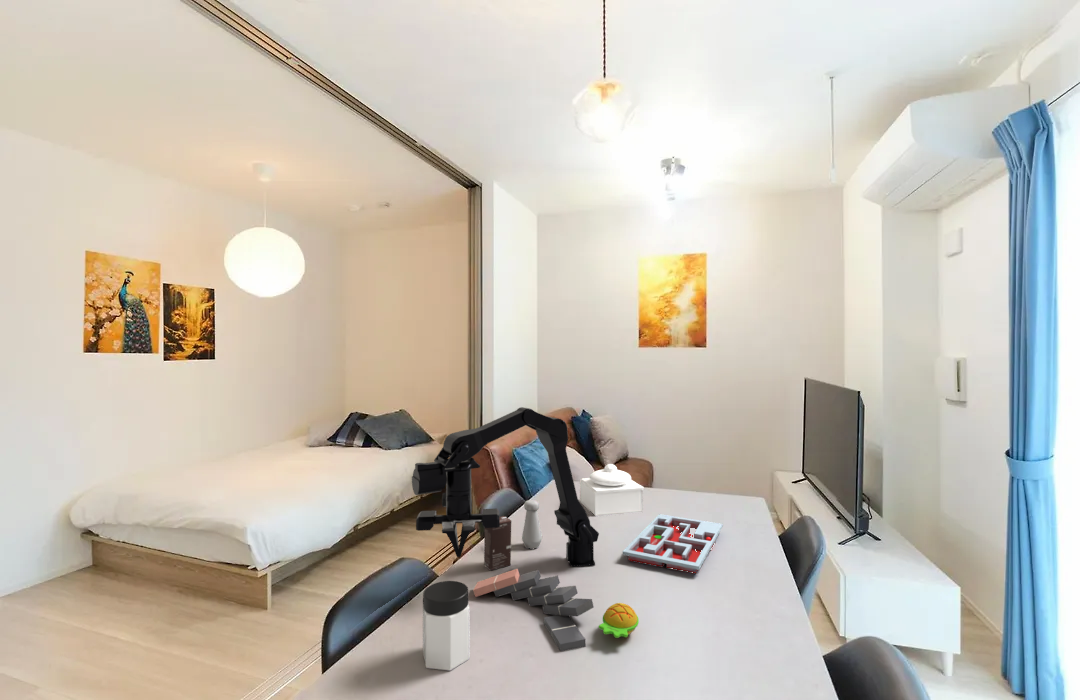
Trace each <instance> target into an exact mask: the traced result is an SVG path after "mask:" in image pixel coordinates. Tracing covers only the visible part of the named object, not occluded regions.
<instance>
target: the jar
mask: <svg viewBox="0 0 1080 700" xmlns="http://www.w3.org/2000/svg"><path fill="white" fill-rule="evenodd" d="M470 609H471V608H470V605H469V587H468V585H467V584H465V583H463V582H462V581H461V582H460V581H457V580H456V581H455V580H443V581H439V582H436V583H433V584H431V585H429V586H427V587H426V588H425V589H424V591H423V594H422V655H423V658H424V659H423V660H424V664H425V668H426V669H431V670H439V671H452V670H454V669H456V668H457V667H458V666H461V665H462V664H463V663H465V662H467V661H468V660H470V658H471V636H470V635H471V633H470V632H471V628H470V627H471V625H470V624H471V623H470V622H471V619H470V618H471V617H470V616H471V611H470Z"/></svg>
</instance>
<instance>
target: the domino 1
mask: <svg viewBox="0 0 1080 700" xmlns="http://www.w3.org/2000/svg"><path fill="white" fill-rule="evenodd" d="M520 575H521V574H520V572H519V569H518V568H516V569H513V570H509V571H505V572H503V573H500V574H497V575H495V576H491V577H488V578H486V579H483V580H479V581H477V582H476V584H475V586H474V588H473V590H472V591H473V594H474V596H475V598H477V597H480V596H483V595H486V594H488V593H491V592H494V591H495V590H498V589H501V588H504V587H507V586H510V585H513V584H516V583H517V582H518V579H519V576H520Z"/></svg>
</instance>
